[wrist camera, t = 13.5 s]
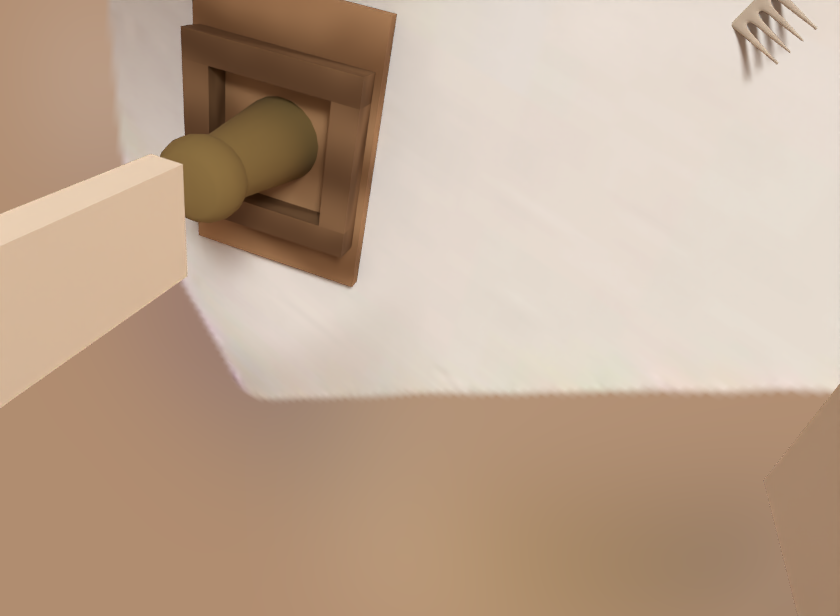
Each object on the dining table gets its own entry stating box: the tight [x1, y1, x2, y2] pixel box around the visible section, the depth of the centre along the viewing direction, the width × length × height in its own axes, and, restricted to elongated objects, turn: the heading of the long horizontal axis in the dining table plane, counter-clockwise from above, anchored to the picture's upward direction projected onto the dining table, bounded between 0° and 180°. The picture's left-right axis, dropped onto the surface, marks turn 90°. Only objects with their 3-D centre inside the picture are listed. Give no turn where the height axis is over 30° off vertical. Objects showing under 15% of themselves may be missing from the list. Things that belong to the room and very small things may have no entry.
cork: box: [160, 96, 318, 223], centre depth 38 cm, size 6×6×11 cm
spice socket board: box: [181, 0, 397, 287], centre depth 42 cm, size 20×14×3 cm
